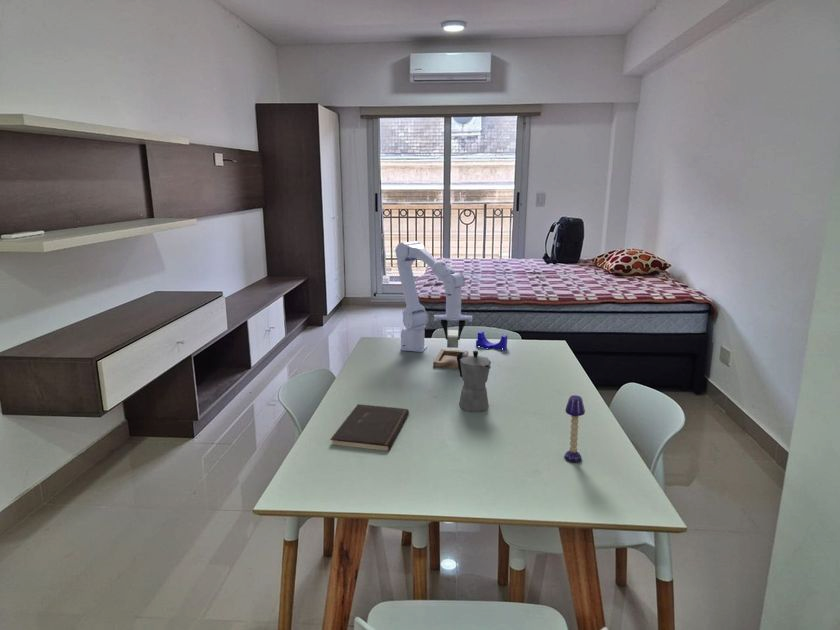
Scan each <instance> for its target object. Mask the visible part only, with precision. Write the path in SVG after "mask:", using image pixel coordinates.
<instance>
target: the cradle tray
mask: <svg viewBox="0 0 840 630" xmlns="http://www.w3.org/2000/svg"><path fill="white" fill-rule="evenodd" d="M460 352H462V353H464V354H468V355H469V351H468V350H457V349H454V350H453V349H443V348H441V349H440V351H439V352H438V354H437V355H436V357H435V359H434V360H433V363H432V366H433V368H439V369H440V368H442V369H452V370H459V368H458V362H457V355H458V354H459V353H460Z"/></svg>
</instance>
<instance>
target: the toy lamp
mask: <svg viewBox="0 0 840 630" xmlns="http://www.w3.org/2000/svg"><path fill="white" fill-rule="evenodd" d="M564 412H565V413H566V415H567V414H568V415H569V416H571V420H570V423H571V424H570V429H571V430H570V435H569V436H570V437H569V438H570V442H569V445H570V447H569V450H567V451H566V452H565V453H564V457H563V458H564V460H565V461H567V462H569V463H574V464H577V463H580V462H582V454H581V453H580V452H579V451H578V433H579V432H578V431H579V430H578V429H579V417H580V416H583V415H585V414H586V410H585V406H584V401H583V398H582V396H581V395H576V394H574V395H571V396H569V398H568V401H567V403H566V406H565V411H564Z"/></svg>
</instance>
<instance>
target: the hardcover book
mask: <svg viewBox="0 0 840 630" xmlns="http://www.w3.org/2000/svg"><path fill="white" fill-rule="evenodd" d="M409 415H410V410H409V409H408V408H403V407H402V408H399V407H392V406H391V407H389V406H383V405H382V406H379V405H371V404H370V405H369V404H362V403H361V404H360V403H358V404H356V406H355V408H354V409H353V410H352V411H351V412H350V414H349V415H348V416H347V417H346V419H345V420H343V422H342V424H340V426H339V427H338V429H337V430H336V431H335V433H334V434H333V435H332V436H331V438H330V441H332V442H331V443H332V446H333V445H334V446H341V447H342V446H343V447H351V448H359V449H366V450H368V449H369V450H377V451H386V452H390V450H391V449H392V447H393V445H394V443H395V441H396V439H397V437H398V435H399V433H400V432H401V429H402V428H403V427H404V424H405V422H406V421H407V418H408V417H409Z"/></svg>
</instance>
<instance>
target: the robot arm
mask: <svg viewBox="0 0 840 630" xmlns="http://www.w3.org/2000/svg"><path fill="white" fill-rule="evenodd" d="M394 251H395V257H396V266H397V270H398V274H399V279H400V283H401V287H402V293H403V297H404V300H405V301H404V302H405V305H406V307H405V308H404V309H403V311H402V316H403V317H402V323H403V325H404V327H402V328H401V331H400V351H403V352H405V351H407V352H418V353H421V352H422V353H423V352H424V351H425V350H426V348H427V346H428V345H427V344H425V329H426V327H427V325H428V323H429V319H430V318H429V314H428V313H427V311H426V308H425V306H424V305H422V304H421V303H420V299H419V295H418V291H417V286H416V281H415V278H414V272H413V268H412V266H413V264H414V262H416V260H417V259H418V260H420V261H422V262H423V263H424V264H426V265H427V266H428V267H430V268H431V272H432V274H434V275H435V276H436V277H437V278H438V279H439V280H441V281H442V285H443V287H444V289H445V291H444V292H445V294H446V295H445V314H434V315H433V318H434V319H433V321H434V322H438V321H440V324H441V327H442V329H443V331H444V335H445V340H446V341H447V335H448V326H449V325H448V324H449V323H448V322H458V341H460V340H461V336H462V335H461V334H462V331H463V329H464V327H465V325H466V322H470V323H471V322H473V315H466V314H462V287H464V285H465V282H466V279H465V276H464V274H463V273H462V272H460V271H455V270H454V269H452V268H451V267H449V266H448V265H447V262H446V261H442V260H437V259H436V258H435V257H434V256H433V255H432V254H431V253H430V252H429V251H428V250H427V249H426V248H425V245H424V244H423V243H421V242H420V241H419V240H414V241H408V242H403V241H402V242H399V243H398V244H397V245H396V247H395V250H394Z"/></svg>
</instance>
